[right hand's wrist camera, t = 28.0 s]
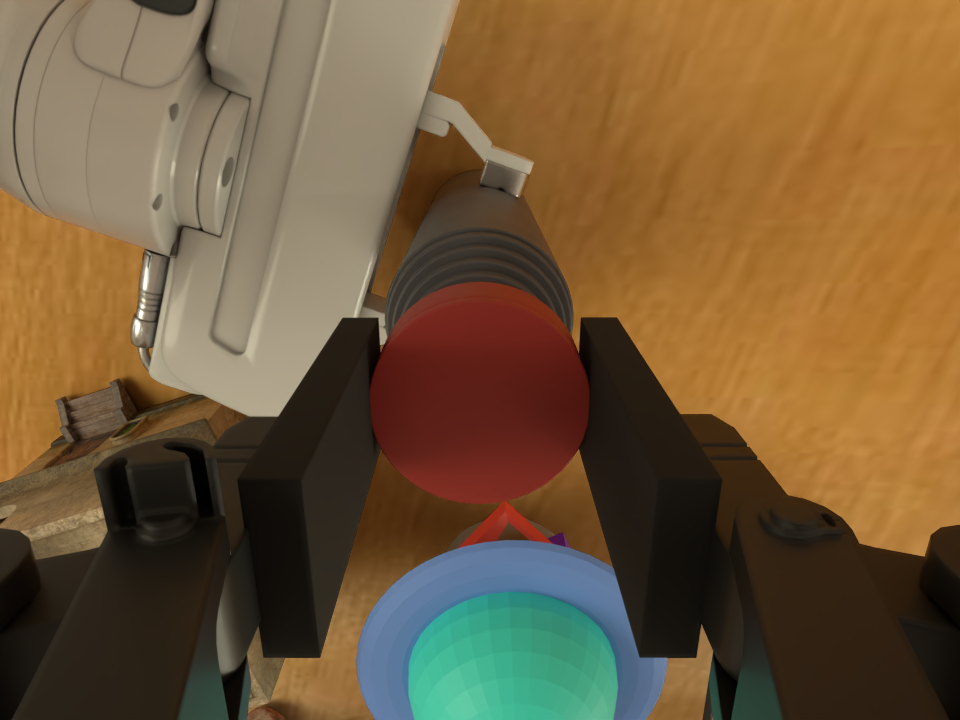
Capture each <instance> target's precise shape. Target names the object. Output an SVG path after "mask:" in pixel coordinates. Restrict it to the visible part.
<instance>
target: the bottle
mask: <svg viewBox="0 0 960 720" xmlns="http://www.w3.org/2000/svg"><path fill="white" fill-rule="evenodd" d="M481 172H482V170H472V171H467V172H464V173H461V174H458V175H456V176H454V177H453V178H451V179H450V180H448V181H447V182H446V183H445V184H444V185H443V186H442V187H441V188H440V189H439V191H438V192H437V193H436V195H435V197H434V199H433V201H432V203H431V205H430V207H429V209H428V211H427V213H426V215H425V217H424V219H423V221H422V223H421V225H420V227H419V229H418V231H417V233H416V235H415V237H414V239H413V241H412V243H411V245H410V247H409V249H408V251H407V253H406V255H405V257H404V259H403V261H402V263H401V265H400V267H399V269H398V271H397V273H396V275H395V277H394V279H393V281H392V283H391V286H390V289H389V292H388V295H387V300H386V305H385V329H386V334H387V337H388V335H389V333H390V332H391V330H392V328H393V327H394V325H395V324H396V323H397V321H398V320H399V318H400V317H401V316H402V315H403V314H404V313H405V312H406V311H407V310H408V309H409V308H410V307H412V306H413V305H414V304H415V303H416V302H418V301H419V300H421V299H422V298H424V297H426V296H427V295H429V294H431V293H433V292H435V291H438V290H440V289H442V288H445V287H449V286H452V285H455V284H461V283H468V282H491V283H499V284H503V285H508V286H512V287H514V288H517V289H520V290H522V291H525V292H527V293H528V294H530V295H532V296H534V297H536V298H537V299H539V300H540V301H542V302H543V303H544V304H546V305H547V306H548V307H549V308H550V309H551V310H552V311H553V312H555V313H556V314H557V316H558V317H559V318H560V319H561V321H562V322H563V323H564V324H565V326H566V327H567V329H568V331H569V332H570V334H571V335H572V329H573V306H572V299H571V296H570V292H569V289H568V286H567V284H566V281H565V279H564V277H563V275H562V273H561V271H560V269H559V267H558V265H557V263H556V261H555V259H554V257H553V255H552V253H551V251H550V249H549V247H548V244H547V242H546V240H545V238H544V236H543V234H542V232H541V230H540V228H539V226H538V224H537V222H536V220H535V218H534V216H533V214H532V212H531V210H530V208H529V206H528V204H527V202H526V200H525V198H524V196H523V195H522V196H521V198H519V197H515V196H512V195H510V194H508V193H506V192H505V191H504V190H503V188H498V189H494V188H490V187H487V186H484V185H482V184H479V178H480V175H481Z"/></svg>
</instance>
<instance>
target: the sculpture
mask: <svg viewBox="0 0 960 720" xmlns="http://www.w3.org/2000/svg"><path fill="white" fill-rule="evenodd" d="M247 720H285V719H284V717H283V716H282V715H281V714H280V713H278V712H277V711H275V710H273V709H271V708H269V707H258V708H255V709H254V710H253V711H251V712H250V713H249V714H247Z"/></svg>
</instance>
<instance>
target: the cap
mask: <svg viewBox="0 0 960 720" xmlns="http://www.w3.org/2000/svg"><path fill="white" fill-rule="evenodd" d="M589 398H590V384H589V381H588V377H587V373H586V370H585V368H584V365H583V363H582V360H581V358H580V355H579V353H578V350H577V348H576V345H575V343H574V341H573V338H572V336H571V334H570V332H569V331H568V329H567V327H566V326H565V324H564V323H563V322H562V321H561V319H560V318H559V317H558V316H557V314H556V313H555V312H553V311H552V310H551V309H550V308H549V307H548V306H547V305H546V304H544V303H543V302H542V301H540V300H539V299H537V298H536V297H534V296H532V295H530V294H528V293H527V292H525V291H522V290H520V289H517V288H514V287H512V286H508V285H503V284H499V283H491V282H468V283H461V284H455V285H452V286H449V287H445V288H442V289H440V290H438V291H435V292H433V293H431V294H429V295H427V296H426V297H424V298H422V299H421V300H419V301H418V302H416V303H415V304H414V305H413V306H412V307H410V308H409V309H408V310H407V311H406V312H405V313H404V314H403V315H402V316H401V317H400V318H399V320H398V321H397V323H396V324H395V325H394V327H393V328H392V330H391V332H390V333H389V335H388V337H387V339H386V341H385V344H384V346H383V349H382V351H381V354H380V356H379V359H378V361H377V364H376V366H375V369H374V372H373V375H372V378H371V383H370V405H371V421H372V429H373V432H374V435H375V437H376V440H377V442H378V444H379V446H380V448H381V449H382V451H383V453H384V455H385V456H386V457H387V459H388V460H389V461H390V463H391V464H392V465H393V466H394V467H395V468H396V469H397V470H398V471H399V472H400V473H401V474H402V475H403V476H404V477H405V478H407V479H408V480H409V481H410V482H412V483H413V484H415V485H416V486H418V487H420V488H421V489H423V490H425V491H427V492H429V493H431V494H434V495H436V496H439V497H442V498H445V499H448V500H452V501H457V502H462V503H473V504H487V503H496V502H503V501H507V500H511V499H515V498H518V497H521V496H523V495H526V494H529V493H531V492H533V491H534V490H536V489H538V488H540V487H542V486H543V485H545V484H546V483H548V482H549V481H550V480H552V479H553V478H554V477H555V476H557V475H558V474H559V473H560V472H561V471H562V470H563V469H564V468H565V467H566V465H567V464H568V463H569V462H570V461H571V460H572V458H573V457H574V455H575V454H576V452H577V451H578V449H579V447H580V445H581V443H582V441H583V439H584V437H585V433H586V430H587V427H588V414H589Z"/></svg>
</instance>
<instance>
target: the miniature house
mask: <svg viewBox="0 0 960 720" xmlns="http://www.w3.org/2000/svg"><path fill="white" fill-rule="evenodd" d="M109 384H110V386H111V387H110V388H107V389H104V390H101V391H98V392H95V393H91V394H88V395H85V396H82V397H79V398H76V399H73V400H70V401H68V400H67V399H66V397H62V398H60V399H58V400H56V401H55V402H56V404H57V406H58V410H59V415H60V419H61V424H62V427H61V428H60V430H61V432H62V434H63V436H60V437H59V438H58V439H56V440H55V441H54V442H52V443H51V448H50V449H49V450H47V451H46V452H45V453H44V454H42V455H41V456H40V457H38V458H37V459H36V460H35V461H33V462H32V463H31V464H30V465H28V466H27V467H26V468H25V469H23V470H22V471H21V472H20V473H18V474H17V475H16V476H15V477H13V478H12V479H11V480H8V481H5V482H1V483H0V528H4V529H11V530H17V531H20V532H22V533H23V534H24V535H26V536H27V537H28V538H29V539H30V542H31V546H32V549H33V553H34V556H35V560H37V559H43V558H48V557H53V556H59V555H64V554H69V553H74V552H80V551H85V550H89V549H93V548H97V547H100V545H101V543H102V541H103V539H104V537H105V535H106V533H107V531H108V530H107V526H106V522H105V517H104V513H103V509H102V504H101V500H100V496H99V491H98V487H97V483H96V479H95V474H94V469H95V468H96V467H97V466H98V465H99V464H100V463H101V462H102V461H103V460H104V459H105V458H107V457H109V456H111V455H113V454H114V453H116V452H118V451H120V450H122V449H124V448H127V447H130V446H133V445H136V444H140V443H143V442H146V441H152V440H158V439H164V438H193V439H197V440H202V441H205V442H207V443H208V444H210V445H211V446H212V447H213V446H214V444H215V443H216V442H217V440H218V439H219V438H220V437H221V435H222V434H223V433H224V432H225V430H227V429H228V428H230V427H232V426H233V425H235V424H237V423H238V422H240V421H242V420H243V419H245V418H247V417H248V416H247V415H245V414H242V413H240V412H238V411H235V410H233V409H231V408H229V407H227V406H225V405H222V404H220V403H218V402H216V401H214V400H212V399H210V398H208V397H206V396H204V395H198V394H190V395H187V396H183V397H180V398H177V399H174V400H171V401H168V402H165V403H162V404H159V405H156V406H152V407H149V408H146V409H143V410H140V411H137V409H136V408H135V406H134V404H133V402H132V400H131V399H130V397H129V395H128V393H127V392H126V390H125V388H124V386H123V385H122V383H121V381H120V379H117V380H114V381H113V382H110V383H109ZM247 657H248V663H249V669H250V676H251V690H250V698H249V706H248V708H252V707H256V706H260V705H264V704H267V703H269V702H270V699H271V696H272V694H273V691H274V688H275V685H276V682H277V679H278V677H279V674H280V671H281V668H282V665H283V662H284V660H285V658H263V652H262V646H261V639H260V632H259V626H258V628H257V630H256V633H255V635H254V637H253V640H252V642H251V644H250V647H249V649H248V651H247Z"/></svg>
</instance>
